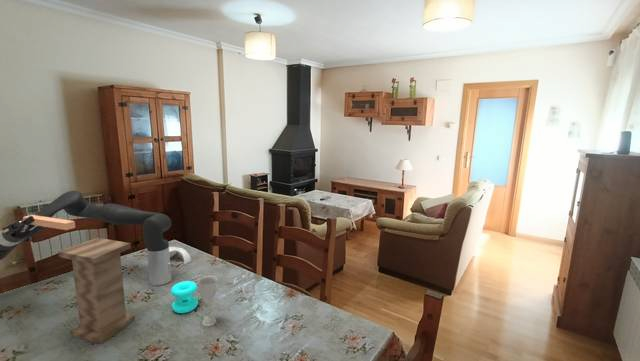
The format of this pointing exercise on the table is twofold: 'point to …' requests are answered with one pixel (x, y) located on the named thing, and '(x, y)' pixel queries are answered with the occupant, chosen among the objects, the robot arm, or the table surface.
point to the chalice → (208, 296)
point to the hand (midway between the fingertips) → (37, 216)
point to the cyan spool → (184, 297)
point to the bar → (52, 222)
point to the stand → (99, 288)
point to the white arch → (184, 253)
